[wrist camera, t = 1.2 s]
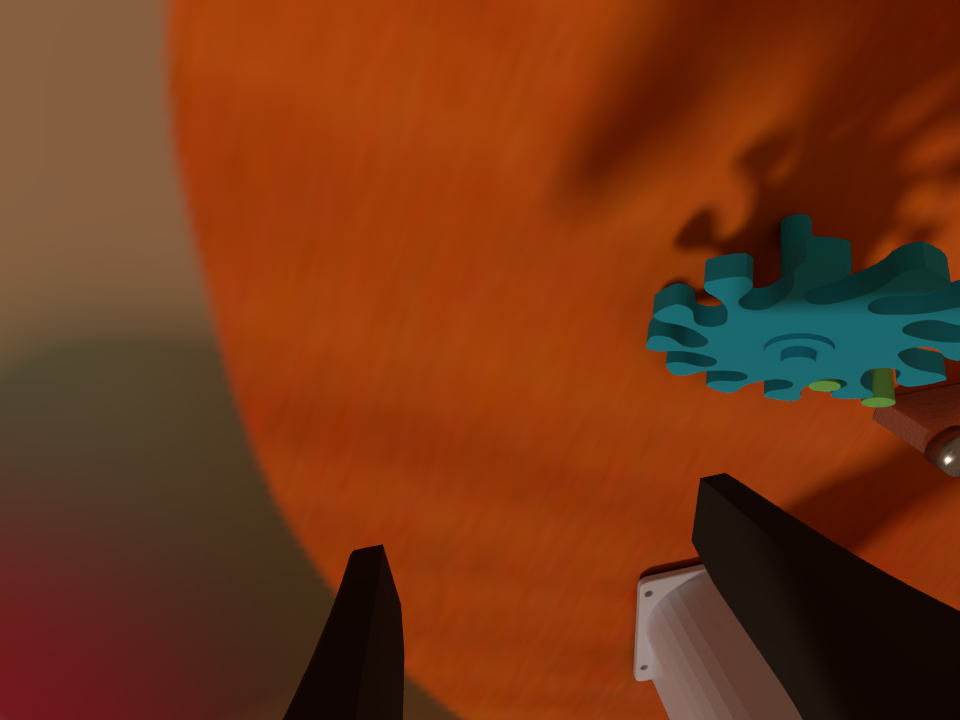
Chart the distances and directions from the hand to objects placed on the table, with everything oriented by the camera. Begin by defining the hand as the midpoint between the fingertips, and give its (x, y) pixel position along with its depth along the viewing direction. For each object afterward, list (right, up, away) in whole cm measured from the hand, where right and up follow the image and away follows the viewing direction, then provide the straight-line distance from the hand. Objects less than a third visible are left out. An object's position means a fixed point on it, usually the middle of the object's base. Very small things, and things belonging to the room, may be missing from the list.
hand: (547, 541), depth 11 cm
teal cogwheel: (+9, +7, +10) cm, 15 cm away
